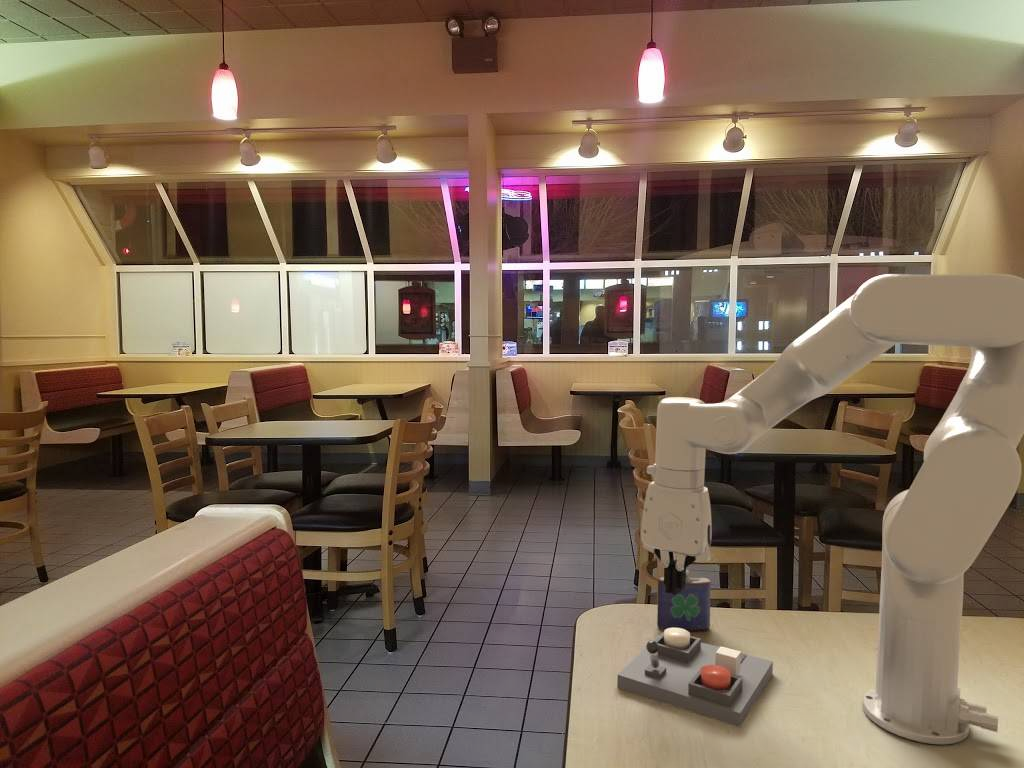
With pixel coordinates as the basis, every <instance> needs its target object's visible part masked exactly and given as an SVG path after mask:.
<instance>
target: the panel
mask: <svg viewBox="0 0 1024 768" xmlns="http://www.w3.org/2000/svg"><path fill="white" fill-rule="evenodd" d="M652 641H655V642H657V644H658V646H659V650H658V659H659V667H658V668H653V667H652V666H651V661H650V655H649V652H648V651H647V649H646V647H644V648H643V650H641V652H639V654H638V655H636V656H635V657H634V658H633V659H632V660H631V661H630V662H629V663H628V664H627V665H626V666H625V667H624V668H622V669H621V671H620V672H619V673H618V674H617V683H616V684H617V688H618V689H621V690H624V691H627V692H630V693H632V694H637V695H640V696H642V697H645V698H649V699H652V700H654V701H658V702H660V703H664V704H667V705H670V706H673V707H676V708H679V709H682V710H685V711H689V712H692V713H695V714H697V715H701V716H704V717H707V718H710V719H713V720H716V721H719V722H722V723H726V724H728V725H731V726H735V727H737V728H741V726H742V725H743V723H744V721H746V719H747V716H748V715H749V713H750V712H751V710H752V708H753V707H754V705H755V703H756V702H757V700H758V698H759V697H760V695H761V693H762V692H763V690H765V689H764V688H765V687H766V685H767V684H768V682H769V680H770V678H771V677H772V676H773V672H774V667H773V666H774V661H773V660H769V659H766V658H761V657H759V656H754V655H750V654H747V653H743V652H741V668H740V672H739V674H738V675H737V676H734V675H731V685H730V687H729V688H728V689H726V690H715V689H711V688H708V687H706V686H704V685H703V684H702V683H701V669H702V667H704V666H706V665H715V657H716V651H717V650H718V649H719V648H720V647H721V646H716V645H712V644H709V643H706V642H702V638H700V637H695V636H693V635H690V646H689V647H687V648H684V649H677V648H673V647H669V646H667V645H665V643H664V631H661V632H660V634H658V635H657V636H656V637H655V638H654V639H652Z"/></svg>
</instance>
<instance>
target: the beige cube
mask: <svg viewBox="0 0 1024 768" xmlns="http://www.w3.org/2000/svg"><path fill="white" fill-rule="evenodd" d="M719 647H720V648H719V649H718V650H717V651H716V657H715V665H719V666H722V667H725V668H726V669H728V670H729V671H730V673H731V675H734V676H737V675H738V674H739V672H740V668H741V653H742V651H741V650H737V649H733V648H729V647H726V646H719Z"/></svg>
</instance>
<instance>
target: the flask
mask: <svg viewBox="0 0 1024 768" xmlns="http://www.w3.org/2000/svg"><path fill="white" fill-rule="evenodd" d="M690 575H691V573H690V570H689V569H686V583H685V588H684V589H682V590H681V591H680V592H679V593H678V594H677V595H673V594H672V593H666V585H664V576H661V577H660V578H658V579H657V608H656V609H657V616H656V619H657V623H656V624H657V629H658V630H660V631H661V632H664V631H665V630H666V629H668V628H681V629H685V630H687V631H688V632H689V633H696V632H697V633H699V632H700V633H701V632H702V633H703V632H708V631H709V630H710V628H711V591H712V590H711V589H712V584H711V583H712V581H711V580H710V579H709V578H706V577H691V576H690Z"/></svg>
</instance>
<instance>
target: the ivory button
mask: <svg viewBox="0 0 1024 768" xmlns="http://www.w3.org/2000/svg"><path fill="white" fill-rule="evenodd" d="M663 632H664V643H665V645H667V646H669V647H673V648H677V649H684V648H687V647H689V646H690V636H691V632H688V631H687V630H685V629H681V628H668V629H666V630H665V631H663Z"/></svg>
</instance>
